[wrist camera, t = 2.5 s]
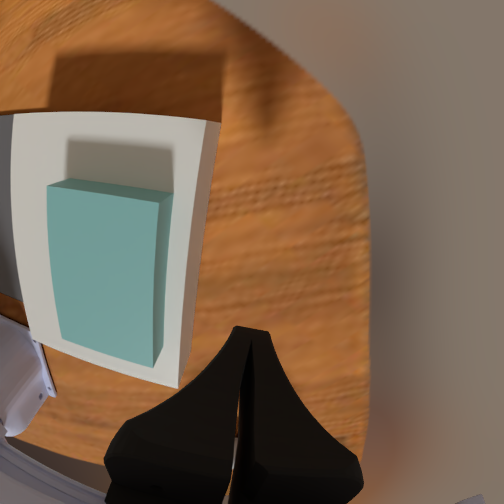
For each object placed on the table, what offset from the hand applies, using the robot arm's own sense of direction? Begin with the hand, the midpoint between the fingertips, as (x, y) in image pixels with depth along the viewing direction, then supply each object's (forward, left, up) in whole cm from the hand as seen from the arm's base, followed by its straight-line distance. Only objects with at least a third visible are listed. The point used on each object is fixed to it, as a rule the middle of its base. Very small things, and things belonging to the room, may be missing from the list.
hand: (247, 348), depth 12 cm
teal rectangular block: (0, +8, -4) cm, 9 cm away
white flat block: (0, +10, -8) cm, 12 cm away
